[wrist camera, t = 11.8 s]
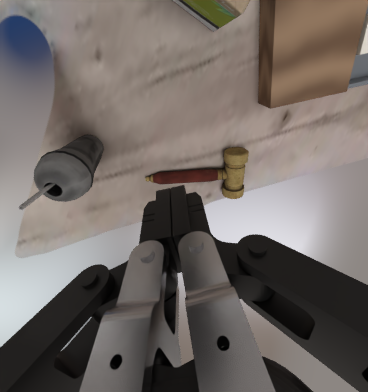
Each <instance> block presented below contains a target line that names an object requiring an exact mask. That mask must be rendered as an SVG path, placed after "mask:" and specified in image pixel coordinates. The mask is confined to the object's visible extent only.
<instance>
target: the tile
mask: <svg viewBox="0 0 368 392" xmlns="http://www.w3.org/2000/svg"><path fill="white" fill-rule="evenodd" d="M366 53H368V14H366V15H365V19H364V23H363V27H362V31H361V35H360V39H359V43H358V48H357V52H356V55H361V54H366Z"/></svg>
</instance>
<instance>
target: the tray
mask: <svg viewBox="0 0 368 392" xmlns="http://www.w3.org/2000/svg"><path fill="white" fill-rule="evenodd" d="M366 14H368V6H367V10H366ZM366 84H368V53H366V54H361V55H356V56H355V60H354V64H353V68H352V72H351V77H350V81H349V85H348V88H353V87H357V86H362V85H366Z"/></svg>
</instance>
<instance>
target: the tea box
mask: <svg viewBox="0 0 368 392" xmlns="http://www.w3.org/2000/svg"><path fill="white" fill-rule="evenodd" d="M173 1H174V2H175V3H177V4H178V5H179V6H181V7H182V8H183V9H184V10H186V11H187V12H188V13H190V14H191V15H193V16H194V17H195V18H197V19H198V20H199V21H200V22H202V23H203V24H204V25H205V26H207V27H208V28H209V29H211V30H212V31H213V32H214V31H216V30H218V29H219V28H221V27H222V26H224V25H225V24H227V23H229V22H230V21H232V20H233V19H235V18H237V17H238V16H239V15H241V14H242V13H243V12H244V10H245V9H246V7H247V5H248V3H249V1H250V0H173Z"/></svg>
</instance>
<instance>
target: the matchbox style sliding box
mask: <svg viewBox="0 0 368 392" xmlns="http://www.w3.org/2000/svg"><path fill="white" fill-rule="evenodd" d="M367 6H368V0H260V29H259V95H258V103H259V104H261V105H264V106H266V107H268V108H270V109H271V108H275V107H280V106H284V105H288V104H293V103H297V102H302V101H306V100H311V99H315V98H320V97H324V96H328V95H333V94H337V93H342V92H346V91H347V89H348V85H349V81H350V77H351V72H352V68H353V64H354V60H355V56H356V52H357V48H358V43H359V39H360V35H361V31H362V27H363V23H364V19H365V15H366V10H367Z"/></svg>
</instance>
